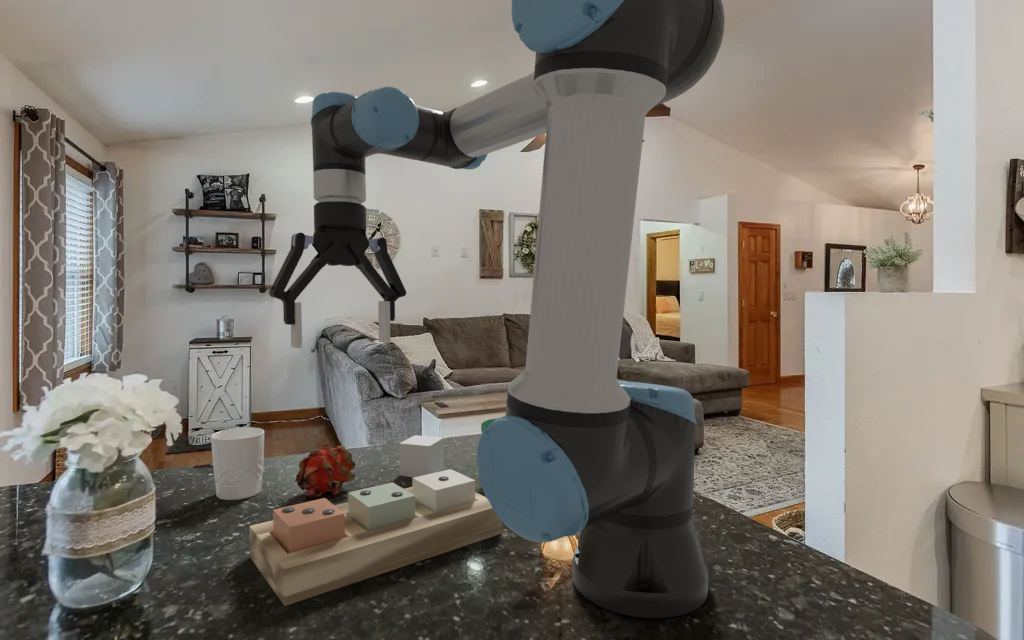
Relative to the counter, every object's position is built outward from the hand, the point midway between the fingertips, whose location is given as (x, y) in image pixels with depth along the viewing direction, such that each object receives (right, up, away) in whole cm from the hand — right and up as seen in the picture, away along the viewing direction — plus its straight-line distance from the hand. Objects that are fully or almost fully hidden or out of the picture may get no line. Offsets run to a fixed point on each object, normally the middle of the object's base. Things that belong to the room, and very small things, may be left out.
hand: (342, 345), depth 86 cm
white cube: (+9, -25, +18) cm, 32 cm away
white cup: (-19, -25, +7) cm, 32 cm away
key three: (+1, -23, -17) cm, 29 cm away
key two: (+9, -23, -12) cm, 27 cm away
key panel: (+9, -26, -11) cm, 29 cm away
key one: (+16, -23, -6) cm, 28 cm away
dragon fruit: (-5, -25, +7) cm, 26 cm away
